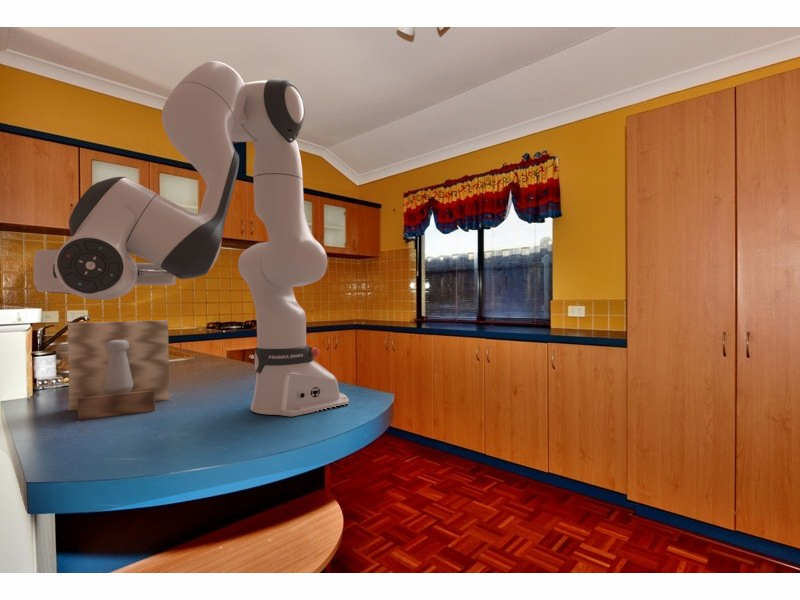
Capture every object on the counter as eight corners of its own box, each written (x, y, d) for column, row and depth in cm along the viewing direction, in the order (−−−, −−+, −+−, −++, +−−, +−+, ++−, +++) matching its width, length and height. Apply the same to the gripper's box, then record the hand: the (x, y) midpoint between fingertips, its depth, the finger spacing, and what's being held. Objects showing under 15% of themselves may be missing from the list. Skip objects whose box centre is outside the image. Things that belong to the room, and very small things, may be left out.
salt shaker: (138, 392, 99) (137, 338, 99) (124, 398, 94) (123, 341, 93) (113, 393, 99) (112, 339, 99) (97, 399, 93) (96, 341, 93)
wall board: (169, 397, 107) (168, 320, 106) (169, 399, 105) (168, 320, 105) (70, 408, 97) (69, 323, 96) (69, 410, 95) (67, 323, 95)
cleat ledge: (155, 401, 103) (155, 383, 103) (154, 410, 95) (154, 390, 95) (85, 409, 96) (85, 389, 96) (77, 420, 88) (77, 398, 88)
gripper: (178, 255, 71) (176, 261, 83) (21, 248, 61) (44, 256, 73) (179, 291, 71) (176, 292, 83) (22, 291, 61) (45, 292, 73)
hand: (114, 275), depth 78 cm, fingers open, 8 cm apart
